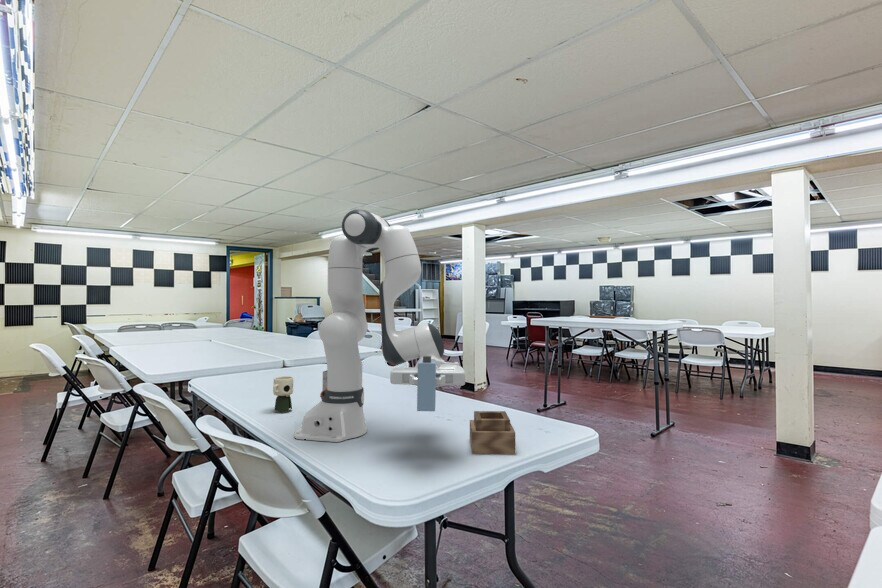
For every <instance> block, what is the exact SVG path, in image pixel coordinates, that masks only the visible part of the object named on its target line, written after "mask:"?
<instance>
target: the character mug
mask: <svg viewBox="0 0 882 588" xmlns="http://www.w3.org/2000/svg"><path fill="white" fill-rule="evenodd" d="M272 393H273V395H274V396H276V398H275V404H274V411H275V412H279V413H280V412H281V413H286V412H285V411H287V412H290V410H291V409H292V410H293V405H292V404H293V403H292V398H291V395H292V394H293V393H294V376H290V375H283V376H281V375H280V376H275V377H274V378H273V389H272Z"/></svg>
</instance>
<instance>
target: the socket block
mask: <svg viewBox="0 0 882 588" xmlns="http://www.w3.org/2000/svg"><path fill="white" fill-rule="evenodd" d="M469 443H470V449H471V450H470V451H471V455H516V431H515V429H514V427H513V425H512V424H511V419H510V417H509V415H508V413H507V412H506V411H505V410H504V411H501V410H498V411H495V410H494V411H493V410H490V411H489V410H486V411H485V410H480V411H479V410H474V411H473V419H469Z"/></svg>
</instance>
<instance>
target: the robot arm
mask: <svg viewBox="0 0 882 588" xmlns="http://www.w3.org/2000/svg"><path fill="white" fill-rule="evenodd" d="M341 230H342V234H340V235H337V236H335V237H333V238H332V239H331V241H330V244H329V250H328V257H327V294H328V297H329V300H330V304H331V309H332V313H330V314H329V315H328V316H326V317H325V318H323V320H322V321H321V323H320V325H319V327H318V335H319V338H320V340H321V341H322V343H323V349H324V354H325V359H326V367H327V368H326V371H327V387H326V388H325V389H322V390H323V391H320V393H319V395H320V396H319V398H320V399H321V400H320V401H319V402H318V403H317V404H315V405H314V406H313V407H312V408H310V409H309V410H308V411H307V412H306V413H305V415H304V416H303V418H302V423H301V426H299V427H298V428H297V429H295V431H294V435H293V438H294V437H295V438H296V439H295V438H294V439H295V440H304V439H306V440H305V441H316V442H318V441H319V442H331V443H333V442H334V443H340V442H343V441H347V440H348V439H349V440H350V439H353V438H354V439H355V438H357V437H361V436H363V435H366V433H367V432H368V427H367V425H366V421H365V420H366V419H365V414H364V404H365V391H364V389H365V388H364V386H363V361H362V360H361V356H360V350H359V342H360V341H361V340H363V339H364V337H365V336H366V334H367V331H368V327H369V326H368V325H369V324H368V321H367V315H366V308H365V307H366V306H365V302H364V295H363V257H364V254H365V253H372V252H374V251H377V250H379V251H380V252H381V255H382V258H383V263H384V267H385V274H384V279H383V281H382V282H380V283H379V288H378V289H379V290H378V297H379V299H378V300H379V314H380V325H381V326H380V328H381V354H382V355H383V358H384V359H383V360H385V361H386V362H387V363H389V364H392V365H393V366H399V365H402V364H405V363H406V362H410V361H413V360H416V359H418V360H417V362H416V364H415V366H414V367H403V366H401V367H400V366H399V367H395V368H393V369H392V370H390V373H389V374H390V376H389V378H390V379H389V381H390V384H391V385H404V386H405V385H408V386H409V385H410V386H411V385H412V386H417V377H418V362H419V361H423V356H431V361H436V379H435V381H436V382H435V385H436V388H440V387H447V386H464V385H466V370H465V369H464V368H463V366H460V363H459V362H458V361H451V360H444V359H443V357H444V353H445V347H444V341H443V338H442V335H441V333H440V330H439V329H438V328H437V327H436V326H434V324H431V323H429V322H427V323H424V324H419V325H416V326H412V327H409V328H405V329H401V330H397V329H396V323H395V321H396V320H395V311H394V310H395V309H394V306H395V302H396V300H397V299H398V298H399V297H400V296H401V295H403V294H404V293H405V292H406V291H408V290H410V288H412V287H413V286H415V284H416V283H417V282H418V281H419V279H420V278H421V274H422V264H421V260H420V256H419V252H418V248H417V246H416V243H415V240H414V238H413V236H412V234H411V232H410V230H409V229H408V228H407V227H406V226H404V225H399V224H395V225H391V224H390V223H389V222H388V221H387V220H386V219H384V218H382V217H381V216H380V215H378V214H376V213H373V212H370V211H368V210H365V209H359V208H358V209H353V210H350V211H349V212H347V213H346V214H345V215H344V217H343V219H342V221H341Z"/></svg>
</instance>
